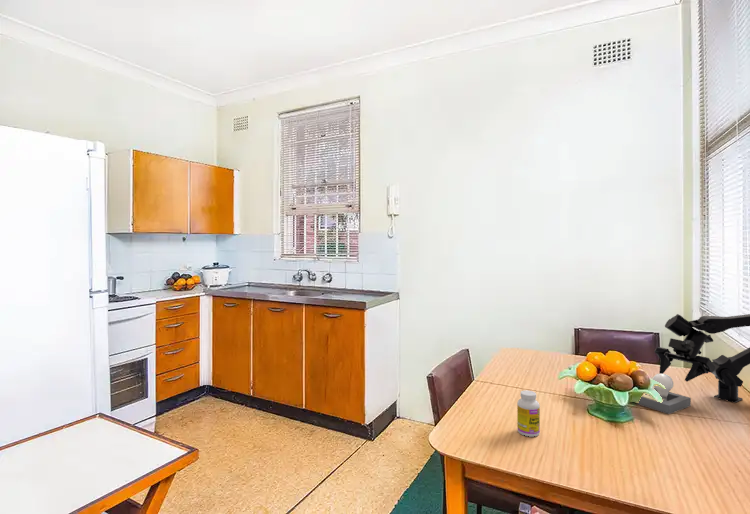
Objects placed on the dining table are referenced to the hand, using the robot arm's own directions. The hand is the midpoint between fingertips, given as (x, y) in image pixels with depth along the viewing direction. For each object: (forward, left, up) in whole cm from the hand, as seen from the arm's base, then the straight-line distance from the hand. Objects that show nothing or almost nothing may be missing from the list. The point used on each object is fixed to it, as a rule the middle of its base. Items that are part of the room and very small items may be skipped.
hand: (672, 377), depth 153 cm
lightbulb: (+5, -1, -9) cm, 11 cm away
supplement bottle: (+65, -9, -9) cm, 67 cm away
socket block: (+5, -1, -9) cm, 11 cm away
